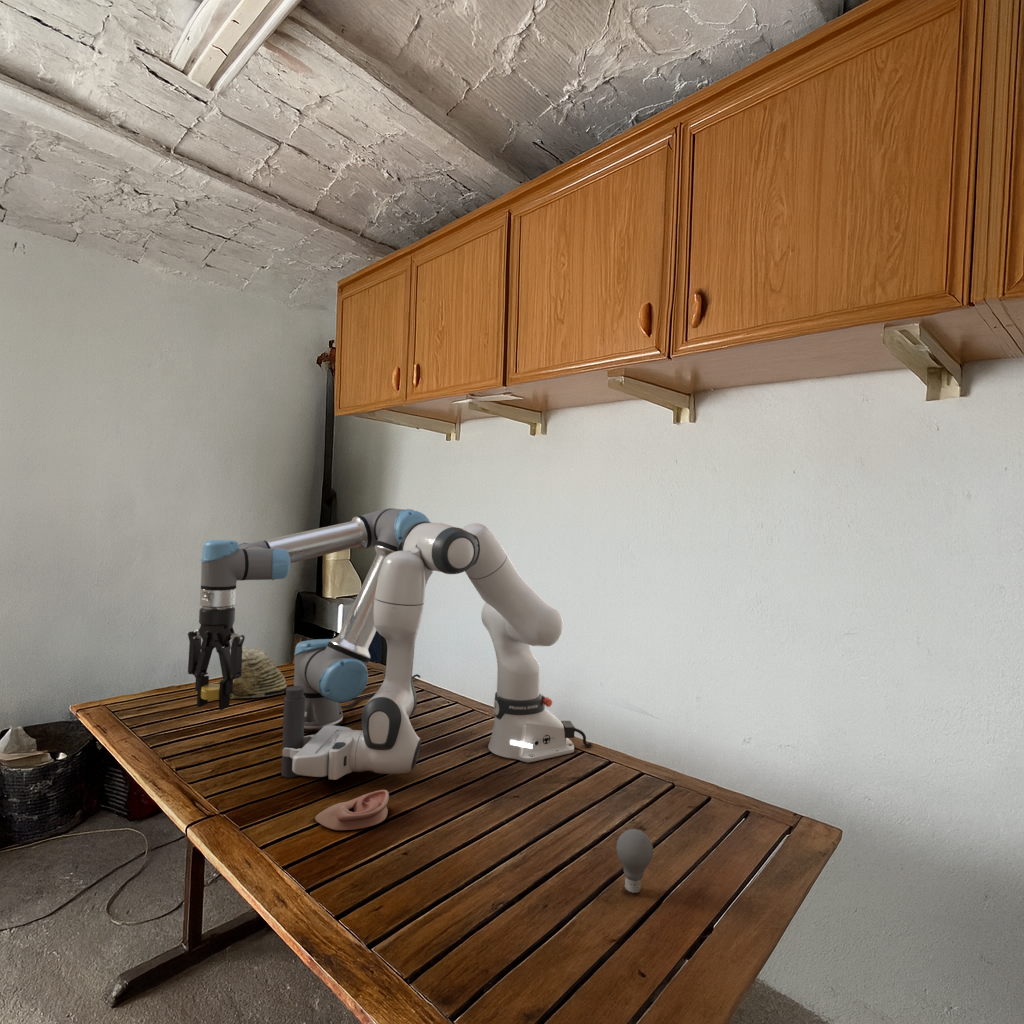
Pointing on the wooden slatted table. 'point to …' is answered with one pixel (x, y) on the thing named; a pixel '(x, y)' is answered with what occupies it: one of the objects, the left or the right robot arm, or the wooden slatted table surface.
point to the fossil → (258, 676)
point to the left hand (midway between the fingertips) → (213, 706)
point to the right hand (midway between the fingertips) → (288, 746)
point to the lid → (210, 692)
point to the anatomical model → (356, 812)
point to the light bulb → (634, 857)
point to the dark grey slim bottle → (292, 725)
